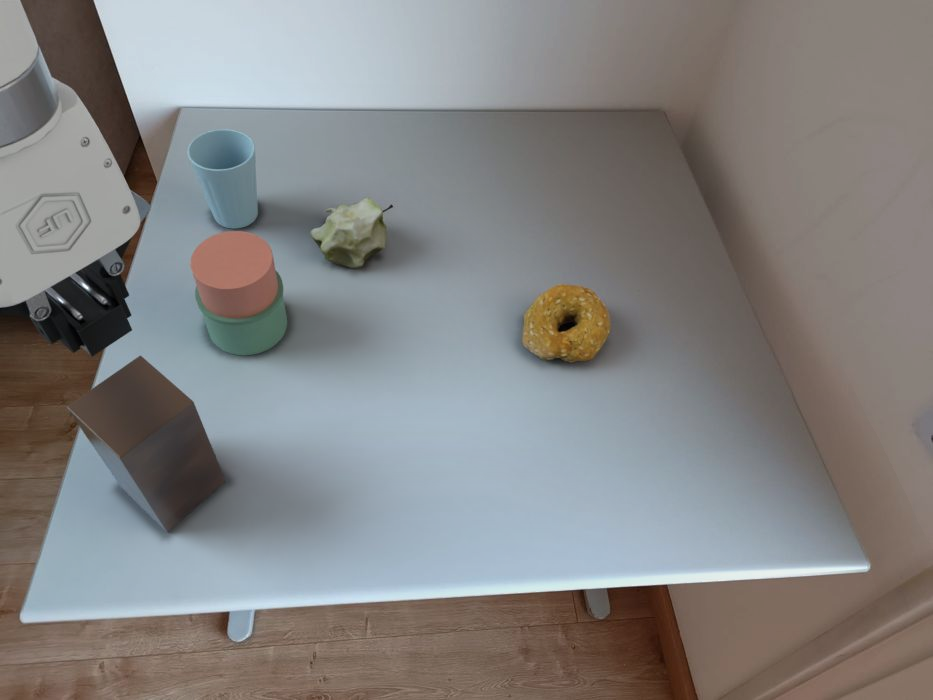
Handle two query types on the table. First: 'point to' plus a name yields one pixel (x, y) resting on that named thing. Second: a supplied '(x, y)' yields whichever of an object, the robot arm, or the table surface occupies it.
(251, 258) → the cup stack
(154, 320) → the table surface
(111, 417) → the clip stand
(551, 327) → the bagel
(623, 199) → the table surface
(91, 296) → the clip
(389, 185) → the table surface
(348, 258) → the fruit
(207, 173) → the cup
